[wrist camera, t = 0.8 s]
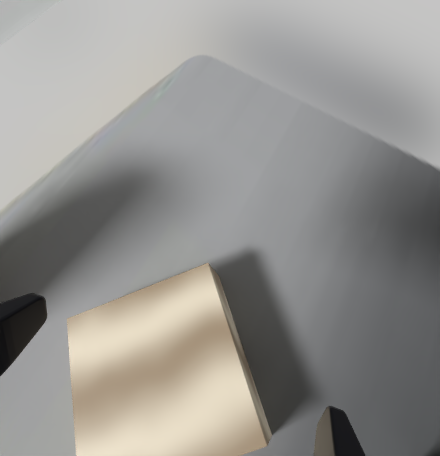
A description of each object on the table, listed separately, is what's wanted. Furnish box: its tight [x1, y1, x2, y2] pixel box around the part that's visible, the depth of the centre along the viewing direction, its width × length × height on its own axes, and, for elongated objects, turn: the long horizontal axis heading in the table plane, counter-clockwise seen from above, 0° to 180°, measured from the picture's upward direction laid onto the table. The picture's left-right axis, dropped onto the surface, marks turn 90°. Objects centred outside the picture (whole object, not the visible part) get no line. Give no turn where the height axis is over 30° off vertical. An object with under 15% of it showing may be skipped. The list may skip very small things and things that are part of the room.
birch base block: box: [67, 263, 272, 456], centre depth 23 cm, size 12×12×4 cm
